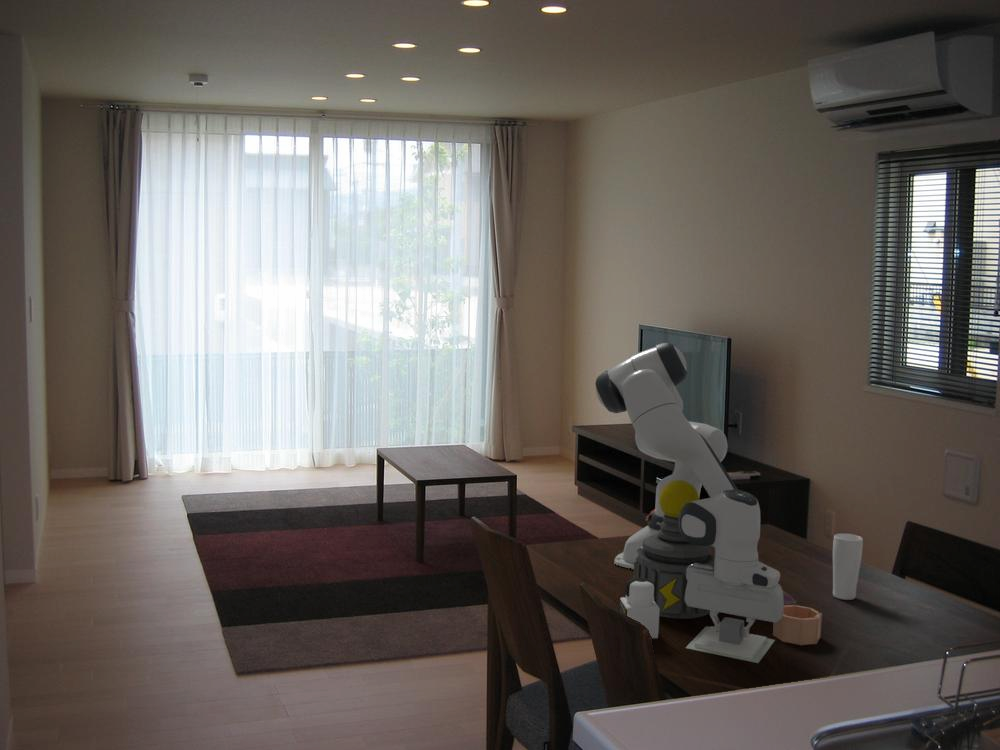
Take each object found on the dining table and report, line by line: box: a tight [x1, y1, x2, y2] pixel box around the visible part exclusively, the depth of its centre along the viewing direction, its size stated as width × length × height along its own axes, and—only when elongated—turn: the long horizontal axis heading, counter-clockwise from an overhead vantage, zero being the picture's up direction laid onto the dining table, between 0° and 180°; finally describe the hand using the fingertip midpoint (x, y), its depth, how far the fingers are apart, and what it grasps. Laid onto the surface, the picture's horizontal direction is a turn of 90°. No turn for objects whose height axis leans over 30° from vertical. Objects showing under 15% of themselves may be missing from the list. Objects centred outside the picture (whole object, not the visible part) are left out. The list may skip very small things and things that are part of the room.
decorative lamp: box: [633, 480, 715, 620], centre depth 240 cm, size 19×19×30 cm
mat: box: [685, 625, 776, 664], centre depth 219 cm, size 15×15×1 cm
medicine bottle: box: [619, 577, 660, 639], centre depth 223 cm, size 7×7×12 cm
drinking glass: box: [832, 533, 864, 601], centre depth 253 cm, size 7×7×15 cm
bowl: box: [772, 604, 823, 646], centre depth 224 cm, size 9×9×6 cm
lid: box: [694, 616, 768, 659], centre depth 218 cm, size 12×12×5 cm
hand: (731, 633), depth 218 cm, fingers closed on lid, 4 cm apart
